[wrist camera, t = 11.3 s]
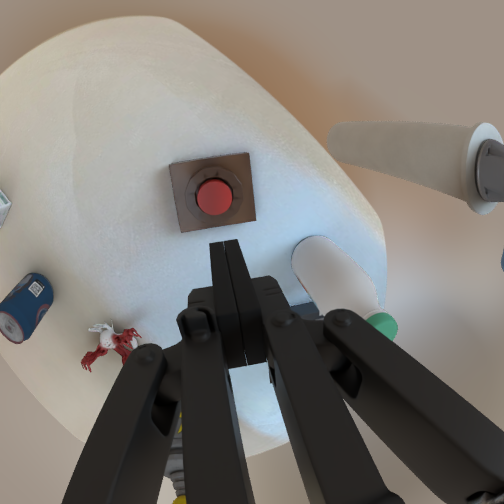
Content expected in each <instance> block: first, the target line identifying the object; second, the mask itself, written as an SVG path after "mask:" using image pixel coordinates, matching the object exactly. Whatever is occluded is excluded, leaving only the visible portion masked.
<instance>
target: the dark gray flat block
mask: <svg viewBox="0 0 504 504" xmlns="http://www.w3.org/2000/svg"><path fill="white" fill-rule="evenodd" d="M290 308H291V310H292V311H294V312H296V313H298V314H299V315H300V317H301V318H302V319H306V320H317V319H321V318H324V316H323V315H322V314H321V312H320V311H319V309H318V308H317V307H316V305H315V304H314V302H310V303H306V304H301V305H296V306H291V307H290Z"/></svg>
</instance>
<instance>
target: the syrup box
mask: <svg viewBox="0 0 504 504" xmlns="http://www.w3.org/2000/svg"><path fill="white" fill-rule="evenodd" d="M11 204H12V203H11V202H10V201H9V200H8V199H7V197H6V196H5V195H4V193H3V192H2V191H1V190H0V228H1V227H2V224H3V222H4V220H5V218H6V215H7V213H8V211H9V208H10V206H11Z"/></svg>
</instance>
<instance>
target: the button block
mask: <svg viewBox="0 0 504 504" xmlns="http://www.w3.org/2000/svg"><path fill="white" fill-rule="evenodd" d="M169 169H170V175H171V181H172V187H173V193H174V198H175V204H176V209H177V215H178V220H179V225H180V230H181V233H183V232H189V231H195V230H201V229H207V228H213V227H219V226H225V225H232V224H238V223H245V222H251V221H256V214H255V204H254V194H253V184H252V175H251V165H250V156H249V153H247V152H243V153H235V154H227V155H220V156H213V157H206V158H200V159H193V160H188V161H182V162H176V163H171V164H170V165H169ZM211 179H217V180H221V181H223V182H224V183H226V184H227V186H228V187H229V189H230V191H231V194H232V202H231V205H230V207H229V208H228V209H227V210H226V211H225V212H224V213H222V214H219V215H210V214H207V213H205V212H204V211H202V210H201V208H200V207H199V205H198V202H197V195H198V190H199V188H200V186H201V185H202V184H203V183H204V182H206V181H208V180H211Z"/></svg>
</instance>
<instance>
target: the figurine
mask: <svg viewBox="0 0 504 504" xmlns="http://www.w3.org/2000/svg"><path fill="white" fill-rule="evenodd" d="M111 320H112V319H111ZM104 322H105V321H104ZM105 323H106V322H105ZM94 327H97V328H94ZM101 328H107V330H104V331H102V329H101ZM88 330H89V331H94V332H99V333H100V334H101V335H100V344H99V345H98V346H97V349H96V351H95V352H87V354H86V356H84V358H83V359H82V361H81V364H83V365H84V367H85V369H86V370H87V367H86V364H87V366H88V369H89V371H90V372H91V368H90V365H91V364H92V363H93V362H94V361H95V360H96V359H97V357H99V356H103V355H105V354H106V353H107V351H108V349H111V348H112V349H114V350H115V351H116V352H117V353H119V354H120V355H121V356H122V363H123V365H124V363H125V362H126V360H127V358H128V356H129V354H130V353H131V351H129V350H127V349H125V348H124V346H123V344H124V345H125V346H127V347H129V348H131V349H135V348H136V347H138V345H137V340H136V339H135V338H134V337H133V335H134V336H136V337H138V336H139V337H140V338H142V337H141V336H140V335H139V334H138V333H137V332H136V330H135V329H134V328H131V329H124V332H123V333H121V334H116V333H115V332H114V330H113V324H112V327H110V326H109V325H108V324H107V323H106V324H103V325H101V324H95V325H93V328H89V329H88ZM89 331H88V332H89ZM133 332H135V333H136V334H137V335H136V334H134V333H133ZM130 342H131V343H130ZM126 343H129V344H130V345H131V344H132V346H133V348H132V347H131V346H129V345H128V344H126ZM83 365H82V367H83ZM84 367H83V369H84Z"/></svg>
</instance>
